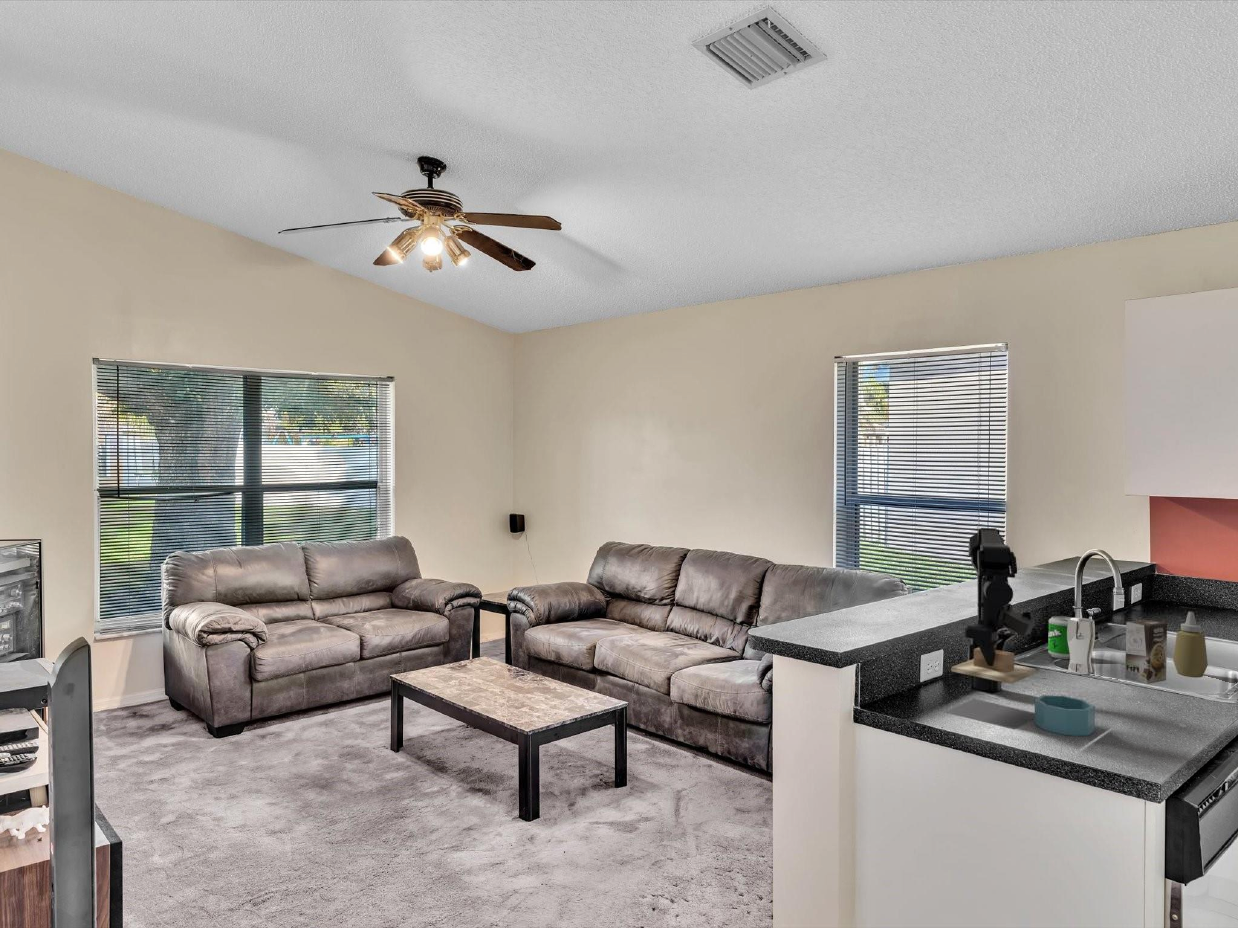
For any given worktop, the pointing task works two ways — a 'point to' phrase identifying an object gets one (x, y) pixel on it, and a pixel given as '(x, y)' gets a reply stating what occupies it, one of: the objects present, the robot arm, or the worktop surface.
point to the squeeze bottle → (1190, 649)
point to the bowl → (1065, 715)
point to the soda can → (1058, 637)
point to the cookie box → (1146, 651)
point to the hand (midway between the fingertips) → (993, 664)
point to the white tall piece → (1080, 644)
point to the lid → (994, 667)
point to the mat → (993, 713)
